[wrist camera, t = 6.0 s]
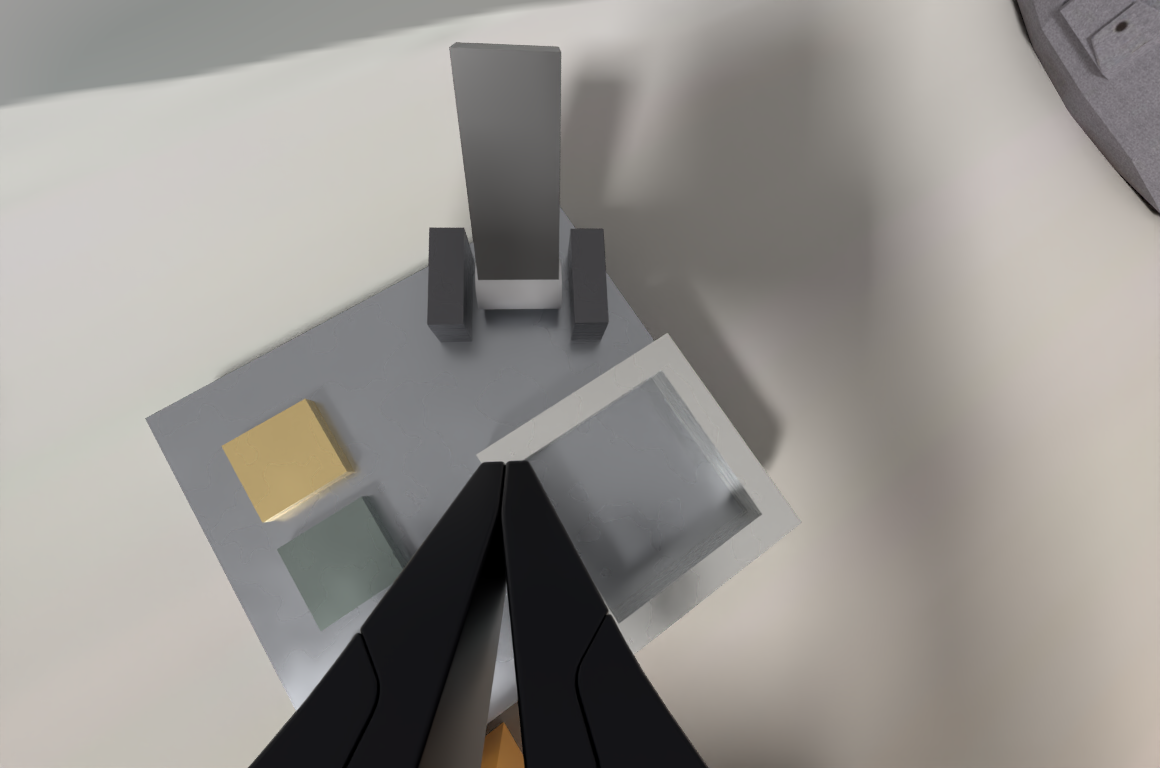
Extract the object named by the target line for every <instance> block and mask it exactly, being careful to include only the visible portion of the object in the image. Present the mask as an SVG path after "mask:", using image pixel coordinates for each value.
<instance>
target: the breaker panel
mask: <svg viewBox="0 0 1160 768" xmlns="http://www.w3.org/2000/svg"><path fill="white" fill-rule="evenodd" d="M559 259H560V260H561V272H562V306H561V309H481V310H480V309H479V307H478V304H477V298H476V288H475V264H476V259H475V251H474V243H471V244H469V242H468V238H467V235H466V232H465V229H464V228H430V229H429V266H428V267H426V268H424V269H422V270H420V271H419V272H417V273H415V274H413V275H411V276H409V277H407V278H406V279H404V280H402V281H400V282H398V283H396V284H394V285H393V286H391V287H389V288H387V289H385V290H383V291H381V292H380V293H378V294H376V295H374V296H372V297H370V298H368V299H366V300H365V301H363V302H361V303H359V304H357V305H355V306H353V307H352V308H350V309H348V310H346V311H344V312H342V313H340V314H339V315H337V316H335V317H333V318H331V319H329V320H327V321H326V322H324V323H322V324H320V325H318V326H316V327H314V328H313V329H311V330H309V331H307V332H305V333H303V334H301V335H300V336H298V337H296V338H294V339H292V340H290V341H288V342H286V343H285V344H283V345H281V346H279V347H277V348H275V349H273V350H272V351H270V352H268V353H266V354H264V355H262V356H260V357H259V358H257V359H255V360H253V361H251V362H249V363H247V364H246V365H244V366H242V367H240V368H238V369H236V370H234V371H233V372H231V373H229V374H227V375H225V376H223V377H221V378H220V379H218V380H216V381H214V382H212V383H210V384H208V385H206V386H205V387H203V388H201V389H199V390H197V391H195V392H193V393H192V394H190V395H188V396H186V397H184V398H182V399H180V400H179V401H177V402H175V403H173V404H171V405H169V406H167V407H166V408H164V409H162V410H160V411H158V412H156V413H154V414H153V415H151V416H149V417H147V418H145V419H146V421H147V423H148V425H149V427H150V428H151V430H152V432H153V434H154V436H155V438H156V440H157V442H158V444H159V446H160V448H161V450H162V452H163V454H164V456H165V458H166V460H167V461H168V463H169V465H170V467H171V469H172V471H173V473H174V475H175V477H176V479H177V481H178V483H179V485H180V487H181V489H182V491H183V493H184V494H185V496H186V498H187V500H188V502H189V504H190V506H191V508H192V510H193V512H194V514H195V516H196V518H197V520H198V522H199V524H200V525H201V527H202V529H203V531H204V533H205V535H206V537H207V539H208V541H209V543H210V545H211V547H212V549H213V551H214V553H215V555H216V557H217V558H218V560H219V562H220V564H221V566H222V568H223V570H224V572H225V574H226V576H227V578H228V580H229V582H230V584H231V586H232V588H233V590H234V591H235V593H236V595H237V597H238V599H239V601H240V603H241V605H242V607H243V609H244V611H245V613H246V615H247V617H248V619H249V621H250V622H251V624H252V626H253V628H254V630H255V632H256V634H257V636H258V638H259V640H260V642H261V644H262V646H263V648H264V650H265V652H266V654H267V655H268V657H269V659H270V661H271V663H272V665H273V667H274V669H275V671H276V673H277V675H278V677H279V679H280V681H281V683H282V685H283V687H284V688H285V690H286V692H287V694H288V696H289V698H290V700H291V702H292V704H293V706H294V708H295V710H296V711H297V710H298V708H299V707H300V706H301V705H302V704H303V702H304V701H305V700H306V699H307V697H308V696H309V695H310V693H311V692H312V691H313V690H314V688H315V687H316V686H317V684H318V683H319V682H320V681H321V679H322V678H323V677H324V675H325V674H326V673H327V671H328V670H329V669H330V668H331V666H332V665H333V664H334V662H335V661H336V660H337V658H338V657H339V656H340V654H341V653H342V652H343V650H344V649H345V647H346V646H347V645H348V643H349V642H350V641H351V639H352V638H353V636H354V635H355V634H356V633H361V632H360V628H361V626H362V625H363V623H364V622H365V621H366V619H367V618H368V617H369V615H370V614H371V612H372V611H373V610H374V608H375V607H376V606H377V604H378V603H379V602H380V600H381V599H382V597H383V596H384V595H385V593H386V592H387V591H388V589H389V588H390V587H391V585H392V584H393V583H394V581H395V580H396V578H397V577H398V576H399V574H400V573H401V572H402V570H403V569H404V568H405V566H406V565H407V563H408V562H409V561H410V559H411V558H412V557H413V555H414V554H415V553H416V551H417V550H418V549H419V547H420V546H421V544H422V543H423V542H424V540H425V539H426V538H427V536H428V535H429V534H430V532H431V531H432V529H433V528H434V527H435V525H436V524H437V523H438V521H439V520H440V519H441V517H442V516H443V515H444V513H445V512H446V510H447V509H448V508H449V506H450V505H451V504H452V502H453V501H454V500H455V498H456V497H457V495H458V494H459V493H460V491H461V490H462V489H463V487H464V486H465V485H466V483H467V482H468V481H469V479H470V478H471V476H472V475H473V474H474V472H475V471H476V470H477V468H478V467H479V466H480V464H481V463H483V462H495V461H503V462H504V463H505V465H506V463H507V462H508V461H519V460H527V461H529V462H530V464H531V465H532V467H533V469H534V471H535V473H536V475H537V477H538V479H539V480H540V482H541V484H542V486H543V488H544V490H545V492H546V494H547V495H548V497H549V499H550V501H551V503H552V505H553V507H554V509H555V510H556V512H557V514H558V516H559V518H560V520H561V522H562V523H563V525H564V527H565V529H566V531H567V533H568V535H569V537H570V538H571V540H572V542H573V544H574V546H575V548H576V550H577V552H578V553H579V555H580V557H581V559H582V561H583V563H584V565H585V567H586V568H587V570H588V572H589V574H590V576H591V578H592V580H593V582H594V583H595V585H596V587H597V589H598V591H599V593H600V595H601V596H602V598H603V600H604V602H605V604H606V606H607V608H608V610H609V614H611V615H612V617H613V618H614V620H615V622H616V624H617V626H618V628H619V630H620V631H621V633H622V635H623V637H624V639H625V641H626V642H627V644H628V646H629V648H630V649H631V651H632V653H633V654H635V653H637V652H638V651H639V650H640V649H642V648H643V647H644V646H646V645H647V644H648V643H649V642H651V641H652V640H653V639H654V638H656V637H657V636H658V635H659V634H661V633H662V632H663V631H665V630H666V629H667V628H668V627H670V626H671V625H672V624H673V623H675V622H676V621H677V620H679V619H680V618H681V617H682V616H684V615H685V614H686V613H687V612H689V611H690V610H691V609H692V608H694V607H695V606H696V605H698V604H699V603H700V602H701V601H703V600H704V599H705V598H706V597H708V596H709V595H710V594H712V593H713V592H714V591H715V590H717V589H718V588H719V587H720V586H722V585H723V584H724V583H725V582H727V581H728V580H729V579H731V578H732V577H733V576H734V575H736V574H737V573H738V572H739V571H741V570H742V569H743V568H745V567H746V566H747V565H748V564H750V563H751V562H752V561H753V560H755V559H756V558H757V557H758V556H760V555H761V554H762V553H764V552H765V551H766V550H767V549H769V548H770V547H771V546H772V545H774V544H775V543H776V542H778V541H779V540H780V539H781V538H783V537H784V536H785V535H786V534H788V533H789V532H790V531H791V530H793V529H794V528H795V527H797V526H798V525H799V524H800V523H802V522H801V520H800V519H799V518H798V516H797V515H796V513H795V512H794V510H793V509H792V508H791V506H790V505H789V503H788V502H787V501H786V499H785V498H784V496H783V495H782V494H781V492H780V491H779V489H778V488H777V486H776V485H775V484H774V482H773V481H772V479H771V478H770V477H769V475H768V474H767V472H766V471H765V470H764V468H763V467H762V465H761V464H760V462H759V461H758V460H757V458H756V457H755V455H754V454H753V453H752V451H751V450H750V448H749V447H748V446H747V444H746V443H745V441H744V440H743V438H742V437H741V436H740V434H739V433H738V431H737V430H736V429H735V427H734V426H733V424H732V423H731V422H730V420H729V419H728V417H727V416H726V414H725V413H724V412H723V410H722V409H721V407H720V406H719V405H718V403H717V402H716V400H715V399H714V398H713V396H712V395H711V393H710V392H709V390H708V389H707V388H706V386H705V385H704V383H703V382H702V381H701V379H700V378H699V376H698V375H697V374H696V372H695V371H694V369H693V368H692V367H691V365H690V364H689V362H688V361H687V359H686V358H685V357H684V355H683V354H682V352H681V351H680V350H679V348H678V347H677V345H676V344H675V343H674V341H673V340H672V338H671V337H670V335H669V334H668V333H666V334H665V335H663V336H662V337H660V338H658V339H657V340H655V341H654V339H653V338H652V337H651V335H650V334H649V332H648V331H647V329H646V328H645V327H644V325H643V324H642V322H641V321H640V319H639V318H638V317H637V315H636V314H635V312H634V311H633V309H632V308H631V307H630V305H629V304H628V302H627V301H626V300H625V298H624V297H623V295H622V294H621V292H620V291H619V290H618V288H617V287H616V285H615V284H614V282H613V281H612V280H611V278H610V277H609V275H608V274H607V272H606V265H605V249H604V232H603V229H576V228H575V227H574V225H573V224H572V223H571V221H570V220H569V218H568V217H567V215H566V214H565V213H564V211H563V210H562V208H561V207H560V219H559ZM517 701H518V696H517V686H516V676H515V666H514V655H513V645H512V635H511V625H510V615H509V604H508V594H507V584H506V593H505V601H504V608H503V615H502V622H501V629H500V636H499V643H498V650H497V657H496V664H495V671H494V678H493V685H492V692H491V699H490V706H489V713H488V720H487V724H488V723H489V722H491V721H492V720H493V719H495V718H496V717H497V716H498V715H500V714H501V713H502V712H504V711H505V710H506V709H508V708H509V707H510V706H512V705H513V704H514V703H515V702H517Z"/></svg>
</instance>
